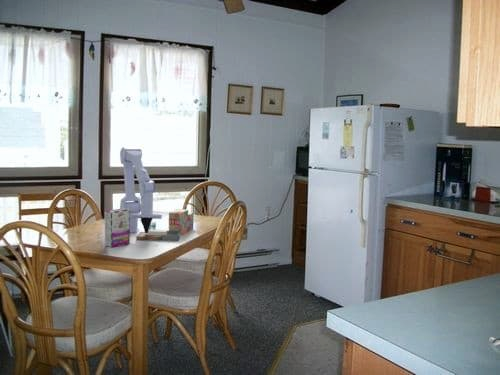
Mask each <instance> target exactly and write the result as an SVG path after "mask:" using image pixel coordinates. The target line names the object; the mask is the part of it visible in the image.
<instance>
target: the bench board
mask: <svg viewBox="0 0 500 375" xmlns="http://www.w3.org/2000/svg"><path fill="white" fill-rule="evenodd" d="M135 240H136V241H142V242H143V241H146V242H162V236H157V235H148V233H145V231H140V232H139V233H137V235H136V239H135Z"/></svg>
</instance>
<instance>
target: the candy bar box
mask: <svg viewBox="0 0 500 375" xmlns="http://www.w3.org/2000/svg"><path fill="white" fill-rule="evenodd" d="M129 210H130V209H125V208H122V209H120V208H115V209H110V210H104V246H105V247H106V246H108V247H107V248H116V247H119V246H120V247H121V246H124V245H125V246H126V245H129V244H130V243H131V234H130V233H131V232H130V212H129Z"/></svg>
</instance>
